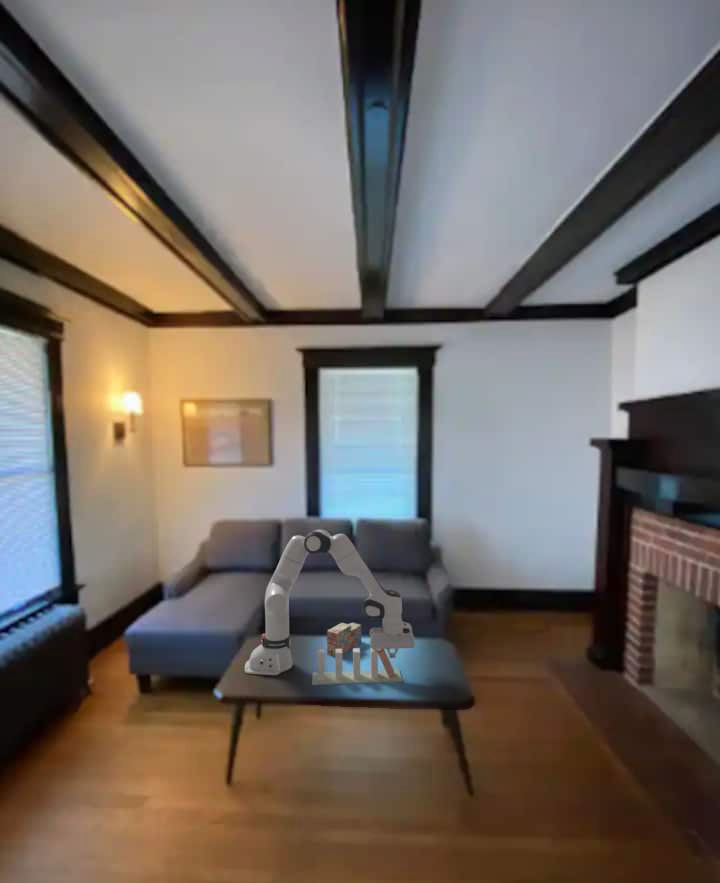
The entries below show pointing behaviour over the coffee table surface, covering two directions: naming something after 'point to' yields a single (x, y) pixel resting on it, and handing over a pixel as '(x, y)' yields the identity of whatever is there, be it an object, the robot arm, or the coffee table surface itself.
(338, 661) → the domino
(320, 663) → the domino
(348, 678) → the mat
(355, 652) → the domino
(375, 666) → the domino
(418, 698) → the coffee table surface
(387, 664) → the domino
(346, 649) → the stack of blocks
